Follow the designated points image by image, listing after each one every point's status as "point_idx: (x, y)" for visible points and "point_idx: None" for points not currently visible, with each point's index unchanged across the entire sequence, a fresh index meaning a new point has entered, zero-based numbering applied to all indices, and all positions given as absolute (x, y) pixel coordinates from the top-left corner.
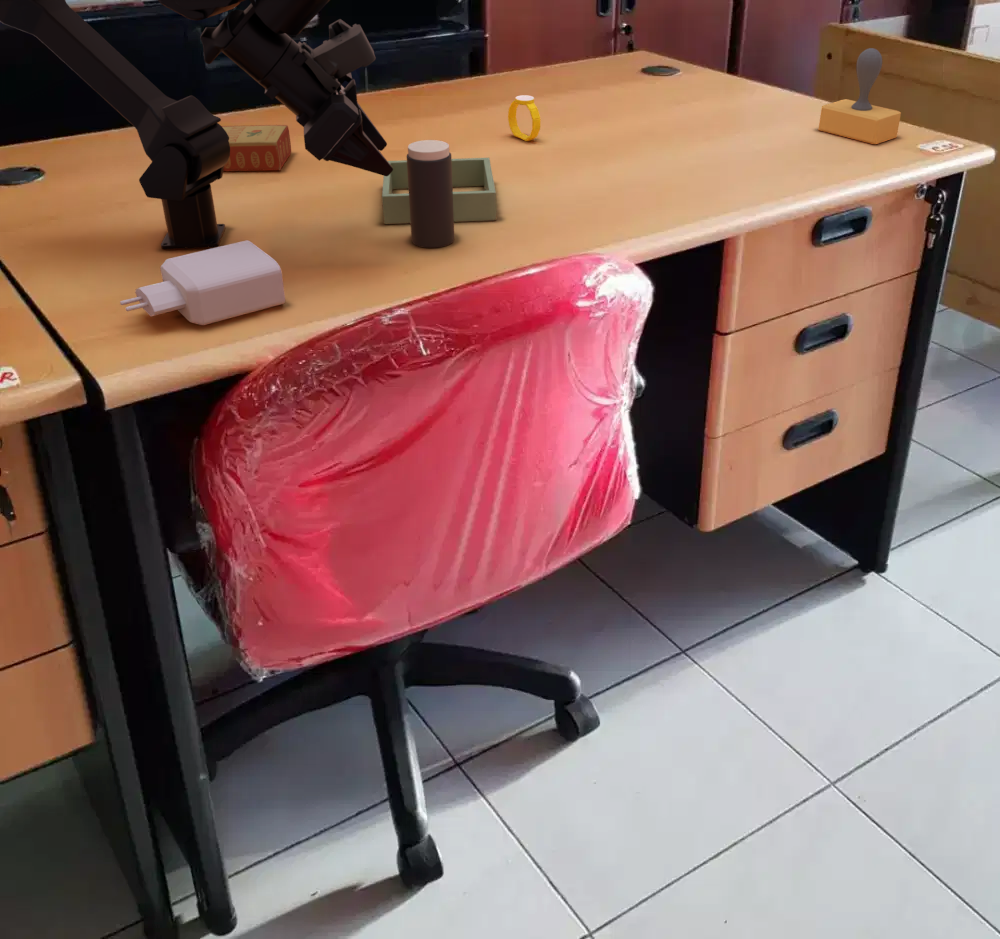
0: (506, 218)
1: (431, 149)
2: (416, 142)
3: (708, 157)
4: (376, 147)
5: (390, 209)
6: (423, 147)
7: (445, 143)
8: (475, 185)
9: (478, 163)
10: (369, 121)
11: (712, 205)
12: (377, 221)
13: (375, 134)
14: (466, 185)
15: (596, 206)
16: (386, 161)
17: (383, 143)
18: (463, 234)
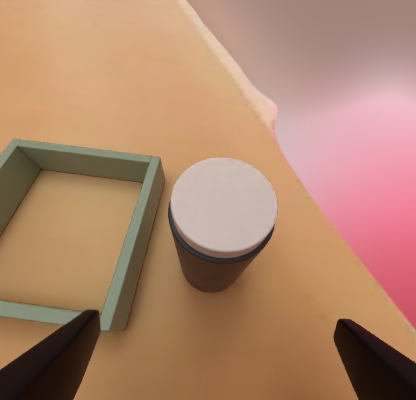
0: None
1: (257, 196)
2: (188, 222)
3: (80, 16)
4: (92, 349)
5: (121, 315)
6: (236, 212)
7: (214, 161)
8: (34, 177)
9: (16, 155)
10: (20, 394)
11: (185, 40)
12: (105, 341)
13: (70, 355)
14: (28, 187)
15: (158, 96)
16: (384, 342)
17: (93, 322)
18: None
